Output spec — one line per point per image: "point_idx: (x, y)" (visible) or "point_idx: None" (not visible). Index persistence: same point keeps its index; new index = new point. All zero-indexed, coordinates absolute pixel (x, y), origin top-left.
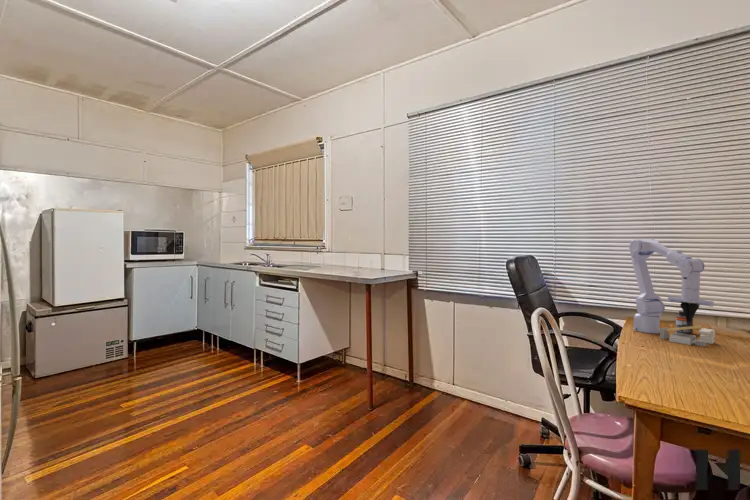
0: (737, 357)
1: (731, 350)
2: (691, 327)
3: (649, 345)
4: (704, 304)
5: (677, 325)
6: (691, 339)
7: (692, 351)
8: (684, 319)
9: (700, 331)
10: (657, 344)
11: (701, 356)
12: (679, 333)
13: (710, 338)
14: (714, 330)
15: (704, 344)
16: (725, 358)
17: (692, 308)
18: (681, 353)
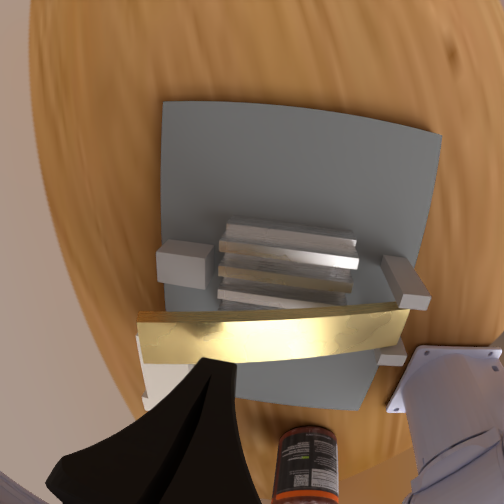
0: (61, 205)
1: (113, 319)
2: (204, 317)
3: (432, 105)
4: (9, 491)
5: (332, 467)
6: (224, 259)
7: None
8: (302, 494)
9: None
10: None
11: (152, 68)
12: None
13: None
14: (144, 404)
15: (162, 245)
16: (79, 136)
17: (98, 461)
18: (243, 39)
